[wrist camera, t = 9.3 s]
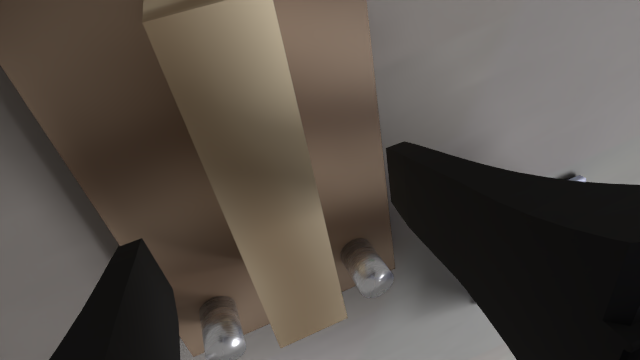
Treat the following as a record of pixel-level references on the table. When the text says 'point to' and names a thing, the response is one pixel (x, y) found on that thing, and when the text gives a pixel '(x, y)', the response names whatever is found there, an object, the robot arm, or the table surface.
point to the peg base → (181, 155)
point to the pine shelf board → (252, 151)
